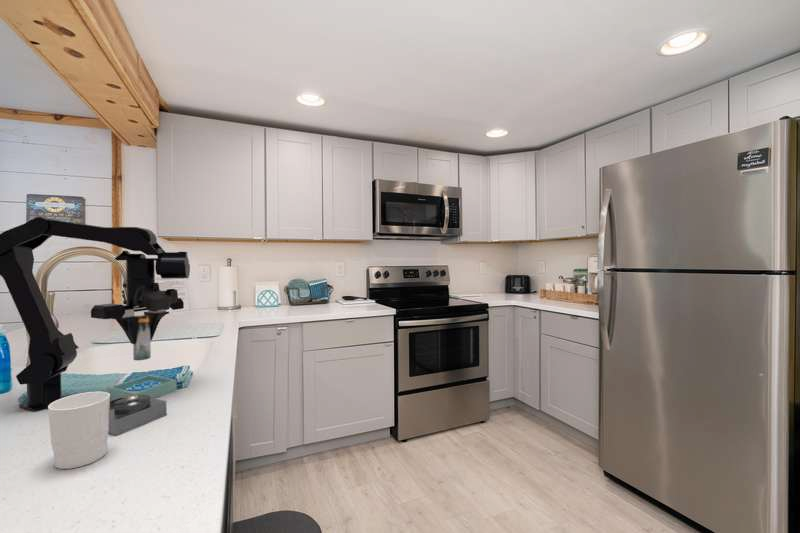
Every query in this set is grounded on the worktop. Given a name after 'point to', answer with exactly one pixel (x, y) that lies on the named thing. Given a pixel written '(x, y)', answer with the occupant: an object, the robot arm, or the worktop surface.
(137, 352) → the grey orange-capped bottle
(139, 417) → the tensioner block
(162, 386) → the tray
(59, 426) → the white cup
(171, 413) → the worktop surface
